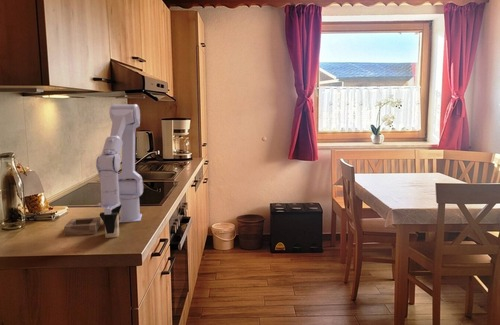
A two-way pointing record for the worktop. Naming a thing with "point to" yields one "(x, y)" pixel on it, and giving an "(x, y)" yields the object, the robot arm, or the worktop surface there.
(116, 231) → the birch post
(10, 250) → the worktop surface
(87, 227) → the walnut holder
